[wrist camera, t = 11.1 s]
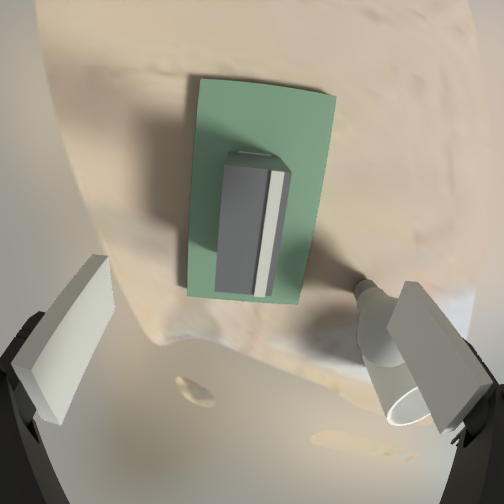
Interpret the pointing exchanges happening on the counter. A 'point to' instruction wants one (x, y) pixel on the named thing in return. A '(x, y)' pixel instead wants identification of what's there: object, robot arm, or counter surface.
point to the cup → (397, 393)
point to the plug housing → (251, 223)
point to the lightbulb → (376, 325)
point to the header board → (261, 143)
